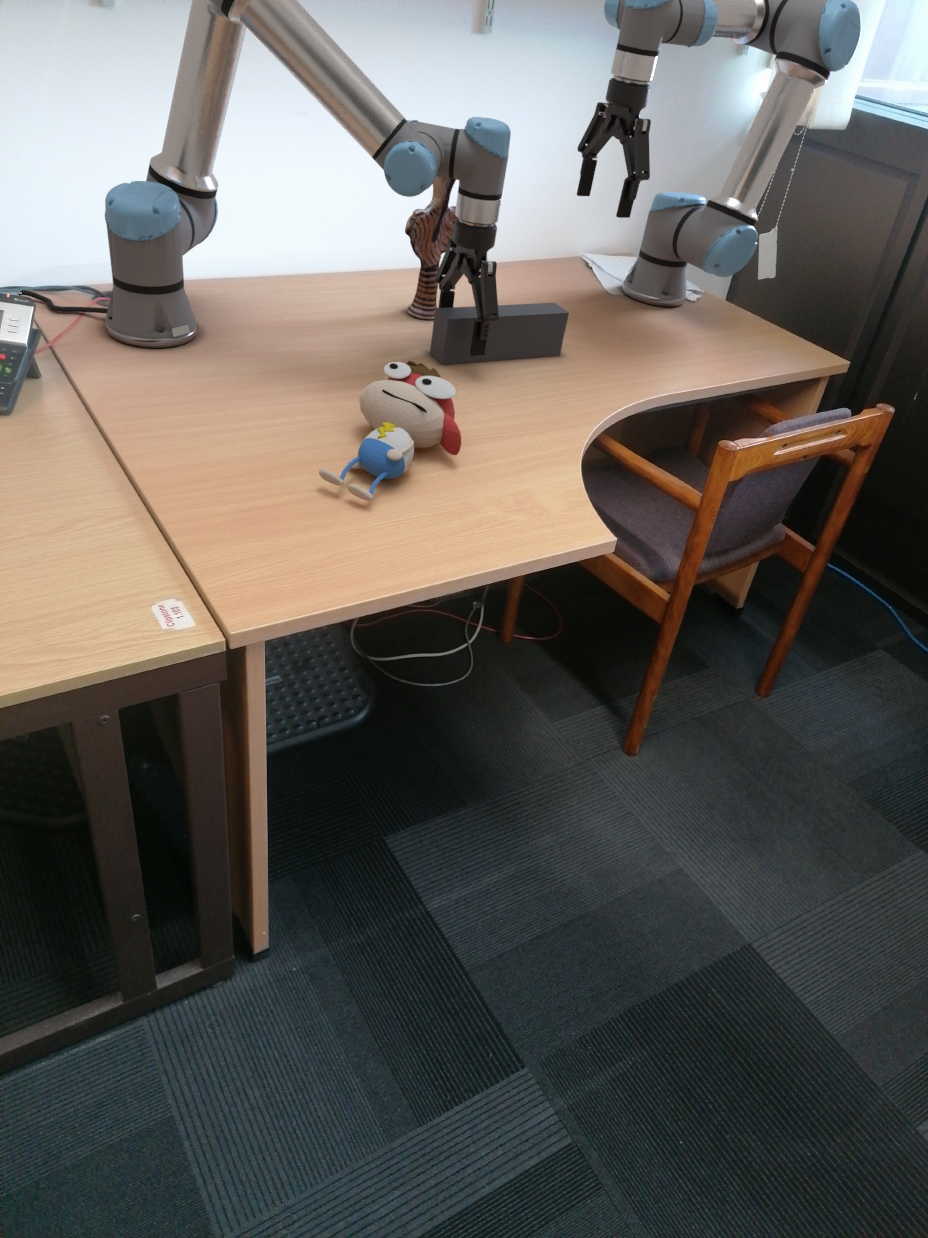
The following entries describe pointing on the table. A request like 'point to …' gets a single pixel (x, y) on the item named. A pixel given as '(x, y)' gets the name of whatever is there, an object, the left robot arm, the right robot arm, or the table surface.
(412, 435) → the toy
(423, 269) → the figurine
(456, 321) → the bar
